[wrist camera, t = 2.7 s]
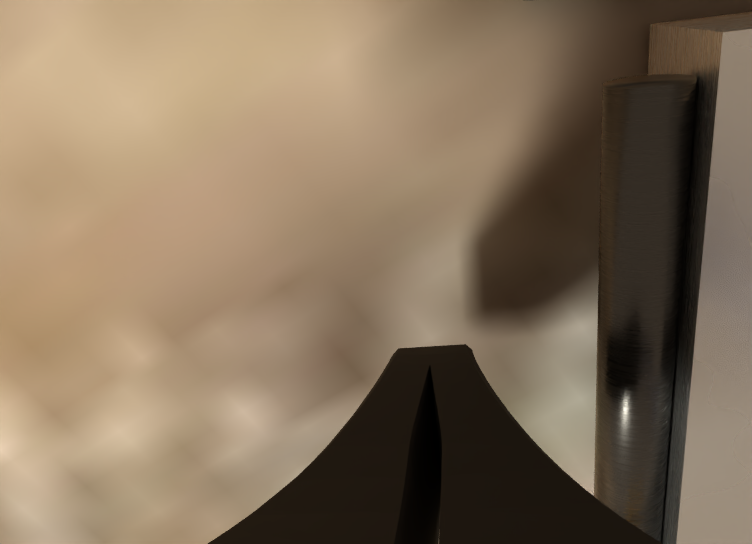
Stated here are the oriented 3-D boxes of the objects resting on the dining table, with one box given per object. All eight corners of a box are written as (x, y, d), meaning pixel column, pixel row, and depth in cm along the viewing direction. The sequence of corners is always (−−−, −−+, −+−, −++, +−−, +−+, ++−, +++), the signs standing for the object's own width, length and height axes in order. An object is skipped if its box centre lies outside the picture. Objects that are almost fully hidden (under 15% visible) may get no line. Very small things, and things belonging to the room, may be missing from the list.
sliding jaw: (849, -1, 10) (996, 0, 7) (760, 546, 14) (831, 665, 12) (575, 33, 10) (621, 44, 8) (572, 550, 15) (601, 664, 12)
